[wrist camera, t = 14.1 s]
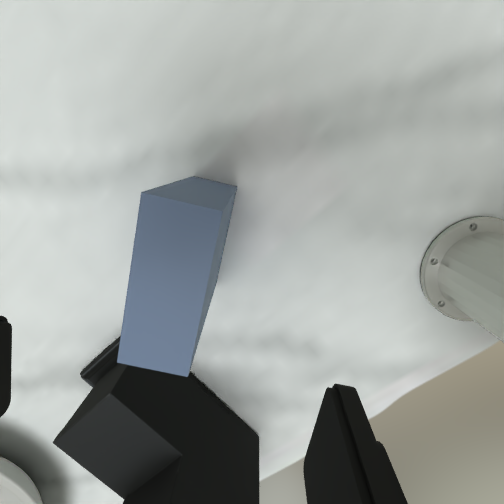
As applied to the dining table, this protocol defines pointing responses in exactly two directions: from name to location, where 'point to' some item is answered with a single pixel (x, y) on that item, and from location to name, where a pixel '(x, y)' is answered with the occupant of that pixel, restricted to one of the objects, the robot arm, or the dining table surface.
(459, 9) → the dining table surface
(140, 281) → the book
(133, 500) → the black drawer cabinet
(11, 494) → the soup bowl
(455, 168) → the dining table surface
